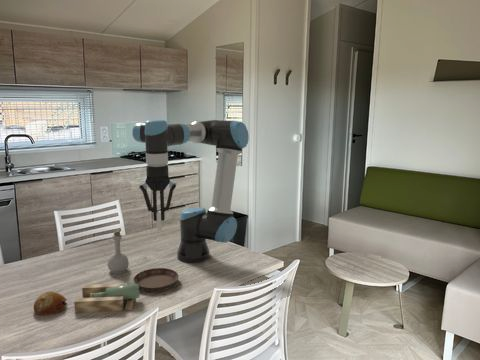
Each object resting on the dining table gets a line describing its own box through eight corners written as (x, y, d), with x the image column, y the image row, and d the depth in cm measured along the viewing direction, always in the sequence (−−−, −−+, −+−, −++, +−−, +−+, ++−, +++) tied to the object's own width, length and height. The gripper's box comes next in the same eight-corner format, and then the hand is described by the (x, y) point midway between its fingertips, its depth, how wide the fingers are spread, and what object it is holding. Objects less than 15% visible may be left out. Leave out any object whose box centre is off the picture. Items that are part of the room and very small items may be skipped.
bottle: (138, 281, 150) (91, 287, 148) (136, 288, 146) (88, 294, 144) (139, 293, 152) (93, 299, 150) (138, 300, 147) (90, 306, 145)
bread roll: (47, 311, 149) (36, 293, 147) (73, 299, 149) (61, 281, 147) (36, 326, 139) (24, 306, 137) (63, 313, 139) (51, 294, 137)
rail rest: (136, 292, 156) (135, 282, 155) (131, 309, 143) (130, 299, 142) (84, 294, 154) (83, 284, 153) (75, 312, 141) (74, 301, 140)
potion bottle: (123, 275, 171) (121, 234, 167) (104, 273, 172) (101, 232, 169) (133, 267, 179) (131, 228, 175) (114, 265, 181) (112, 226, 177)
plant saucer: (157, 298, 152) (157, 290, 151) (124, 286, 161) (123, 279, 161) (187, 281, 167) (187, 274, 166) (155, 271, 176) (155, 264, 175)
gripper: (176, 162, 147) (177, 225, 152) (139, 163, 145) (141, 226, 150) (176, 166, 140) (177, 231, 145) (137, 166, 138) (140, 233, 143)
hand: (159, 229), depth 148 cm, fingers closed
